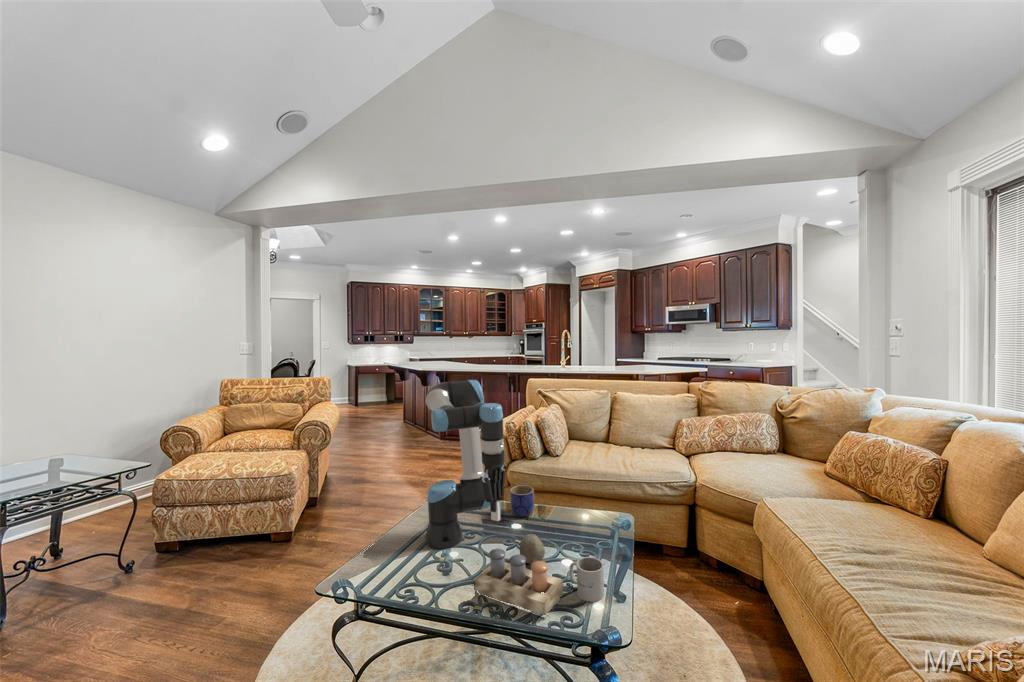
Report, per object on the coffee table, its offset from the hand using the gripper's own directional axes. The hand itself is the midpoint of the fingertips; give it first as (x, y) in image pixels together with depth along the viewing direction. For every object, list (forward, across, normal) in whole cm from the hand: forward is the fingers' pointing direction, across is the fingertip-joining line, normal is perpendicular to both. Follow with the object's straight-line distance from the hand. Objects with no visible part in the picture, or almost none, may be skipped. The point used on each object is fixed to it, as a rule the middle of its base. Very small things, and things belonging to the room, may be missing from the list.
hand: (495, 519), depth 151 cm
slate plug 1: (+19, 0, 0) cm, 19 cm away
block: (+24, 0, -8) cm, 25 cm away
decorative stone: (+24, +18, -3) cm, 30 cm away
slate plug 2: (+19, 0, -8) cm, 20 cm away
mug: (+24, +12, -27) cm, 38 cm away
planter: (+24, +50, +20) cm, 59 cm away
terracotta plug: (+19, 0, -16) cm, 25 cm away
